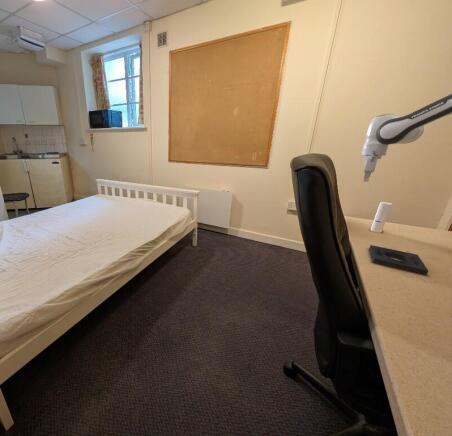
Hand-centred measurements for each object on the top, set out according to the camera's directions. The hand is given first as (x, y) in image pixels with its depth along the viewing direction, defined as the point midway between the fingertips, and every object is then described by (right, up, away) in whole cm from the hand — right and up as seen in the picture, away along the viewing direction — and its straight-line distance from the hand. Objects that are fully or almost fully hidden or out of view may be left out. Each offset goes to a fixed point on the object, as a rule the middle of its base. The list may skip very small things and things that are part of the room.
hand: (365, 180), depth 109 cm
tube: (+9, -25, +4) cm, 27 cm away
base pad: (-10, -36, -23) cm, 44 cm away
